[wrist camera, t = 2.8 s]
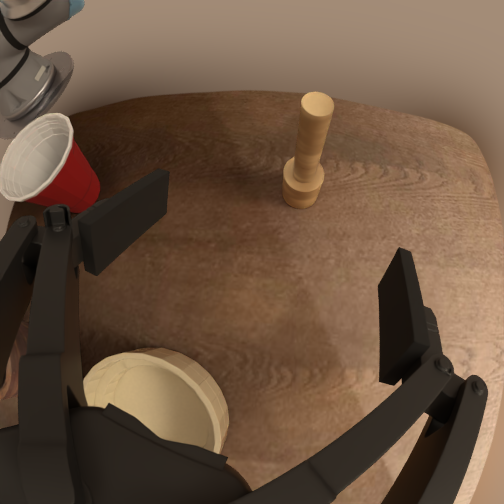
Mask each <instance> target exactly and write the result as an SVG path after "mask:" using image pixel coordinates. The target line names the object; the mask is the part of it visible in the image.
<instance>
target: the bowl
mask: <svg viewBox="0 0 504 504" xmlns="http://www.w3.org/2000/svg"><path fill="white" fill-rule="evenodd" d="M83 385H84V392H85V397H86V400H87V403H88V406H96V407H102V408H106V406H107V405H108V403H111V404H113V405H114V406H116V407H118V408H120V409H121V410H123V411H125V412H127V413H129V414H131V415H132V416H134V417H136V418H137V419H138V420H139V421H140V422H142V423H143V424H144V425H145V426H146V427H148V428H149V429H150V430H151V431H152V432H154V433H155V434H156V435H157V436H159V437H160V438H162V439H165V440H170V441H175V442H180V443H185V444H191V445H197V446H199V447H202V448H204V449H207V450H209V451H212V452H215V453H217V454H220V453H221V450H222V448H223V445H224V443H225V440H226V437H227V432H228V427H229V416H228V407H227V404H226V401H225V399H224V396H223V393H222V391H221V389H220V388H219V386H218V385H217V383H216V382H215V380H214V379H213V378H212V376H211V375H210V374H209V373H208V372H207V371H206V370H205V369H204V368H203V367H202V366H200V365H199V364H198V363H197V362H196V361H194V360H192V359H190V358H189V357H187V356H185V355H183V354H181V353H179V352H176V351H172V350H169V349H165V348H141V349H137V350H133V351H128V352H124V353H120V354H117V355H113V356H109V357H106V358H105V359H103V360H102V361H100V362H99V363H97V364H96V365H94V366H93V367H92V369H91V370H90V371H89V373H88V374H87V375H86V377H85V378H84V380H83Z"/></svg>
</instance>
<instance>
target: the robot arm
mask: <svg viewBox="0 0 504 504" xmlns="http://www.w3.org/2000/svg"><path fill="white" fill-rule="evenodd" d="M0 2H1V4H0V113H1V115H2V116H3V117H4V118H6V119H7V120H9V121H13V120H16V119H19V118H21V117H22V116H24V115H25V114H27V113H28V112H29V111H30V110H32V109H33V108H34V107H35V106H36V105H37V104H38V103H39V102H40V100H41V99H42V98H43V97H44V96H45V94H46V93H47V91H48V90H49V88H50V87H51V85H52V83H53V81H54V79H55V76H56V67H55V66H54V64H53V63H52V62H51V61H50V60H48V59H46V58H44V57H42V56H40V55H38V54H36V53H34V52H32V51H31V50H30V49H29V48H28V46H29V45H31V44H32V43H33V42H35V41H36V40H37V39H39V38H40V37H42V36H43V35H45V34H46V33H48V32H49V31H51V30H52V29H54V28H55V27H57V26H58V25H60V24H62V23H63V22H65V21H67V20H69V19H70V18H71V17H72V16H74V15H75V14H76V13H78V12H80V11H81V10H82V9H83V7H84V0H0ZM169 173H170V172H169V171H166V170H162V169H157V170H155V171H153V172H152V173H150V174H148V175H146V176H145V177H143V178H141V179H140V180H138V181H137V182H135V183H133V184H132V185H130V186H128V187H127V188H125V189H124V190H122V191H120V192H119V193H117V194H116V195H114V196H113V197H111V198H110V199H109V198H106V199H103V200H100V201H98V202H96V203H95V204H93V205H92V206H91V207H89V208H87V209H86V210H84V211H83V212H81V213H80V214H78V215H77V216H75V217H74V218H73V219H71V215H70V208H69V206H67V205H65V204H55V205H52V206H49V207H48V208H46V209H45V210H44V212H43V216H44V222H45V227H42V226H37V222H36V218H35V217H33V216H22V217H20V218H19V219H17V220H16V221H15V222H14V223H13V224H12V226H11V227H10V228H9V230H8V231H7V232H6V234H5V235H4V237H3V238H2V240H1V241H0V388H1V385H2V381H3V377H4V374H5V370H6V367H7V363H8V360H9V357H10V354H11V351H12V348H13V345H14V342H15V339H16V336H17V333H18V330H19V328H20V325H21V322H22V320H23V317H24V315H25V312H26V310H27V307H28V305H29V302H30V300H31V297H32V301H31V308H30V317H29V326H28V338H27V351H26V355H21V357H20V359H19V370H18V417H19V424H18V425H14V426H10V427H6V428H2V429H0V504H330V503H331V502H333V501H334V500H335V499H336V496H337V495H338V494H339V493H340V492H341V491H342V490H344V489H345V488H346V487H347V486H348V485H350V484H351V483H352V482H353V481H355V480H356V479H357V478H358V477H359V476H360V475H362V474H363V473H364V472H365V471H366V470H367V469H368V468H370V467H371V466H372V465H373V464H374V463H375V462H376V461H377V460H378V459H379V458H380V457H382V456H383V455H384V454H385V453H386V452H387V451H388V450H389V449H390V448H391V447H392V446H393V445H394V444H395V443H396V442H397V441H398V440H399V439H400V438H401V437H402V436H403V435H404V434H405V433H406V431H407V430H408V429H409V428H410V427H411V426H412V425H413V424H414V423H415V422H416V421H417V419H418V418H419V417H420V416H421V415H422V414H423V413H424V412H425V413H426V414H428V415H429V417H428V419H427V422H426V424H425V426H424V428H423V430H422V432H421V434H420V436H419V439H418V441H417V443H416V445H415V446H414V448H413V450H412V452H411V454H410V456H409V458H408V460H407V462H406V463H405V465H404V467H403V469H402V470H401V472H400V474H399V476H398V477H397V479H396V481H395V482H394V484H393V486H392V487H391V489H390V491H389V492H388V494H387V495H386V497H385V498H384V500H383V501H382V503H381V504H453V503H454V500H455V498H456V496H457V494H458V491H459V489H460V486H461V484H462V481H463V479H464V476H465V473H466V471H467V468H468V465H469V462H470V459H471V456H472V453H473V450H474V447H475V444H476V440H477V437H478V434H479V430H480V426H481V422H482V419H483V415H484V410H485V406H486V401H487V397H488V389H487V386H486V384H485V382H484V381H483V380H482V379H481V378H480V377H479V376H477V375H471V376H469V377H468V378H467V379H466V380H464V379H462V378H461V377H459V376H457V375H456V374H454V368H453V365H452V363H451V361H450V360H449V359H448V358H447V357H446V356H445V355H443V352H442V346H441V341H440V335H439V334H438V333H439V330H438V327H437V326H438V325H437V321H436V317H435V315H434V313H433V312H432V310H431V308H428V307H425V306H424V305H423V300H422V295H421V291H420V286H419V282H418V278H417V273H416V269H415V265H414V261H413V257H412V254H411V252H410V251H408V250H405V249H403V248H400V247H399V248H398V250H397V252H396V254H395V256H394V257H393V259H392V261H391V263H390V265H389V267H388V269H387V270H386V272H385V274H384V276H383V278H382V280H381V281H380V283H379V285H378V297H379V327H380V367H379V382H382V383H386V384H389V385H393V386H394V385H395V384H396V383H397V382H398V381H399V380H400V379H401V378H402V385H401V386H400V387H399V388H398V389H397V390H396V391H395V392H393V393H392V394H391V395H390V396H389V397H388V398H387V399H386V400H385V401H383V402H382V403H381V404H380V405H379V406H378V407H376V408H375V409H374V410H373V411H372V412H371V413H369V414H368V415H367V416H366V417H364V418H363V419H362V420H361V421H360V422H358V423H357V424H356V425H355V426H353V427H352V428H351V429H349V430H348V431H347V432H345V433H344V434H343V435H342V436H340V437H339V438H337V439H336V440H335V441H333V442H332V443H331V444H329V445H328V446H326V447H325V448H324V449H322V450H321V451H319V452H318V453H316V454H315V455H313V456H312V457H310V458H309V459H307V460H305V461H304V462H302V463H300V464H299V465H297V466H296V467H294V468H292V469H291V470H289V471H288V472H286V473H284V474H283V475H281V476H279V477H278V478H276V479H274V480H272V481H271V482H269V483H267V484H265V485H264V486H262V487H260V488H258V489H256V490H254V491H252V490H251V488H250V486H249V485H248V483H247V482H246V480H245V479H244V478H243V477H242V476H241V475H240V474H239V473H238V472H237V471H236V470H235V469H234V468H232V467H231V466H229V465H228V464H226V461H227V458H228V457H226V456H223V455H220V454H217V453H215V452H212V451H209V450H207V449H204V448H202V447H199V446H197V445H191V444H185V443H180V442H175V441H170V440H165V439H162V438H160V437H159V436H157V435H156V434H155V433H154V432H152V431H151V430H150V429H149V428H148V427H146V426H145V425H144V424H143V423H142V422H140V421H139V420H138V419H137V418H136V417H134V416H132V415H131V414H129V413H127V412H125V411H123V410H121V409H120V408H118V407H116V406H114V405H113V404H111V403H108V405H107V406H106V408H102V407H96V406H88V403H87V400H86V397H85V392H84V385H83V376H82V365H81V351H80V333H79V266H78V265H79V264H80V263H81V262H82V261H84V267H85V271H87V272H89V273H91V274H93V275H95V276H98V275H99V274H100V273H101V272H102V271H103V270H104V269H105V268H106V267H107V266H108V265H109V264H110V263H111V262H113V261H114V260H115V259H116V258H117V257H118V256H119V255H120V254H121V253H122V252H123V251H124V250H126V249H127V248H128V247H129V246H130V245H131V244H132V243H133V242H134V241H135V240H137V239H138V238H139V237H140V236H141V235H142V234H143V233H145V232H146V231H147V230H148V229H149V228H150V227H151V226H152V225H154V224H155V223H156V222H157V221H158V220H159V219H161V218H162V217H163V216H164V215H165V214H166V213H167V198H168V185H169Z"/></svg>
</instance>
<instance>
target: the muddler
mask: <svg viewBox="0 0 504 504" xmlns="http://www.w3.org/2000/svg"><path fill="white" fill-rule="evenodd" d="M333 110H334V103H333V101H332V99H331V98H330V97H329V96H327V95H326V94H324V93H321V92H310V93H307V94H306V95H305V96H304V97H303V98H302V101H301V109H300V118H299V126H298V134H297V142H296V150H295V157H293V158H292V159H290V160H289V161H288V162H287V163H286V165H285V167H284V171H283V185H282V195H283V198H284V200H285V201H286V203H287V204H288V205H290V206H291V207H294V208H297V209H305V208H308V207H310V206H311V205H313V204H314V202H315V201H316V199H317V196H318V193H319V191H320V188H321V185H322V183H323V180H324V170H323V168H322V166H321V164H320V163H319V160H320V157H321V153H322V150H323V146H324V143H325V139H326V136H327V132H328V128H329V125H330V121H331V117H332V114H333Z"/></svg>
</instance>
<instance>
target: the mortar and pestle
mask: <svg viewBox="0 0 504 504" xmlns="http://www.w3.org/2000/svg"><path fill="white" fill-rule="evenodd" d="M28 326H29V323H27V322H25V321H23V320H22V322H21V325H20V328H19V330H18V333H17V336H16V339H15V342H14V345H13V348H12V351H11V354H10V357H9V360H8V363H7V367H6V370H5V374H4V377H3V381H2V385H1V388H0V400H3V399H7V398H12V397H16V396H18V370H19V359H20V357H21V355H26V351H27V338H28Z"/></svg>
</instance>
